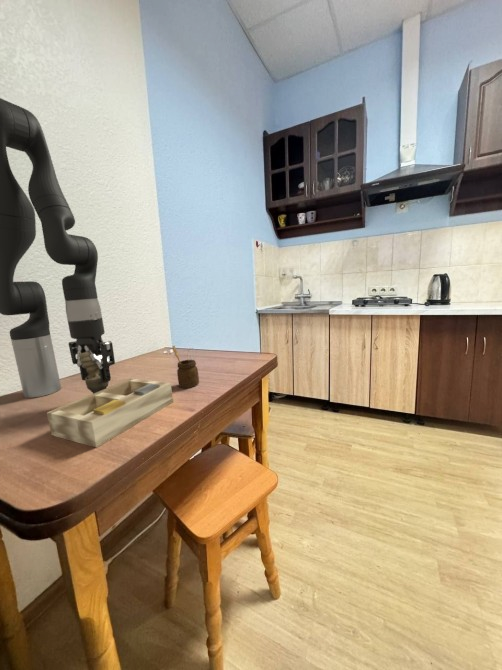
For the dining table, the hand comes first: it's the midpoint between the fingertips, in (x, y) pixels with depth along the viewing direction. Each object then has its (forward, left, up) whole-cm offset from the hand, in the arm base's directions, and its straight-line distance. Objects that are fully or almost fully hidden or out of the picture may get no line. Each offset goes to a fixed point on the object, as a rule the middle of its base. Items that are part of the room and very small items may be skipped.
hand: (96, 380), depth 72 cm
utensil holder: (+16, +17, -6) cm, 24 cm away
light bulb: (0, 0, -6) cm, 6 cm away
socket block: (+13, -5, -6) cm, 15 cm away
